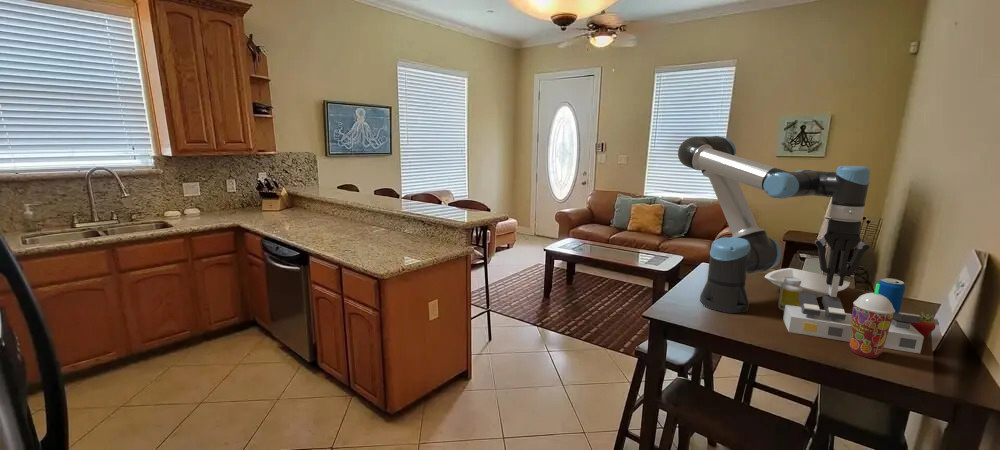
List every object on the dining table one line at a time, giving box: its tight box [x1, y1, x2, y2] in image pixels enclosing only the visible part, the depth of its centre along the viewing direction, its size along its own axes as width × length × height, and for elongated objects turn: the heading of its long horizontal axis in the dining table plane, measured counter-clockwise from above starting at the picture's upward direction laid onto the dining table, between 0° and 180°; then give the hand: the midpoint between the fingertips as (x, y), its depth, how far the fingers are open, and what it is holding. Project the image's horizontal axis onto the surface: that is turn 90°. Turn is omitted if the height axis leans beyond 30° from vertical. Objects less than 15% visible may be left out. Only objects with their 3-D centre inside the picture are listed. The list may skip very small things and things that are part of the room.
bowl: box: [764, 267, 851, 299], centre depth 156 cm, size 22×23×6 cm
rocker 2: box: [821, 295, 846, 320], centre depth 124 cm, size 4×8×2 cm, turn 154°
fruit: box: [909, 310, 937, 339], centre depth 121 cm, size 5×5×8 cm
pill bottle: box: [777, 277, 803, 312], centre depth 141 cm, size 6×6×11 cm
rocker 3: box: [892, 311, 921, 323], centre depth 117 cm, size 4×8×2 cm, turn 154°
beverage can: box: [877, 277, 906, 313], centre depth 136 cm, size 6×6×12 cm
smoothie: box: [848, 283, 895, 359], centre depth 111 cm, size 8×8×20 cm
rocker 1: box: [798, 293, 821, 316], centre depth 126 cm, size 4×8×2 cm, turn 154°
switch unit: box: [782, 305, 925, 354], centre depth 123 cm, size 30×10×7 cm, turn 64°
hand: (832, 295), depth 126 cm, fingers closed
